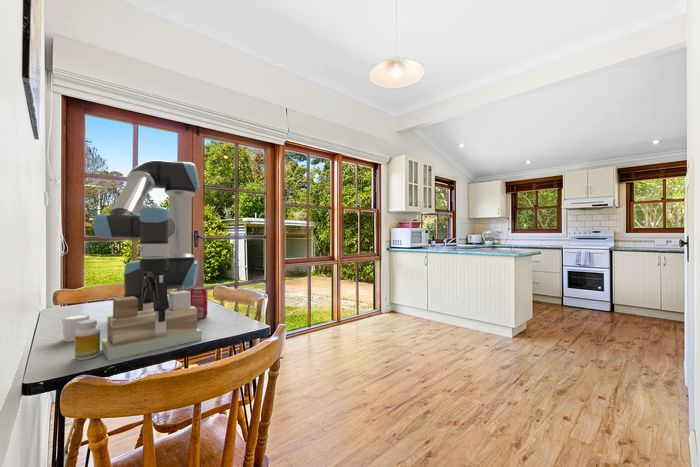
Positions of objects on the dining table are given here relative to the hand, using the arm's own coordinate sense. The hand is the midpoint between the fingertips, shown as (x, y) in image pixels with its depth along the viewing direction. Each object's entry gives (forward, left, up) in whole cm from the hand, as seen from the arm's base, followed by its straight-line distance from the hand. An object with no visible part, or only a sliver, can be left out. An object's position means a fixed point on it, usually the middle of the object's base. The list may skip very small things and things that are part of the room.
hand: (154, 328), depth 98 cm
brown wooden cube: (0, -7, +5) cm, 9 cm away
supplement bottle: (-2, -16, -5) cm, 17 cm away
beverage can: (-23, +22, -5) cm, 33 cm away
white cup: (-24, -16, -5) cm, 30 cm away
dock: (0, 0, -5) cm, 5 cm away
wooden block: (0, 0, -2) cm, 2 cm away
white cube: (0, +7, +5) cm, 9 cm away
